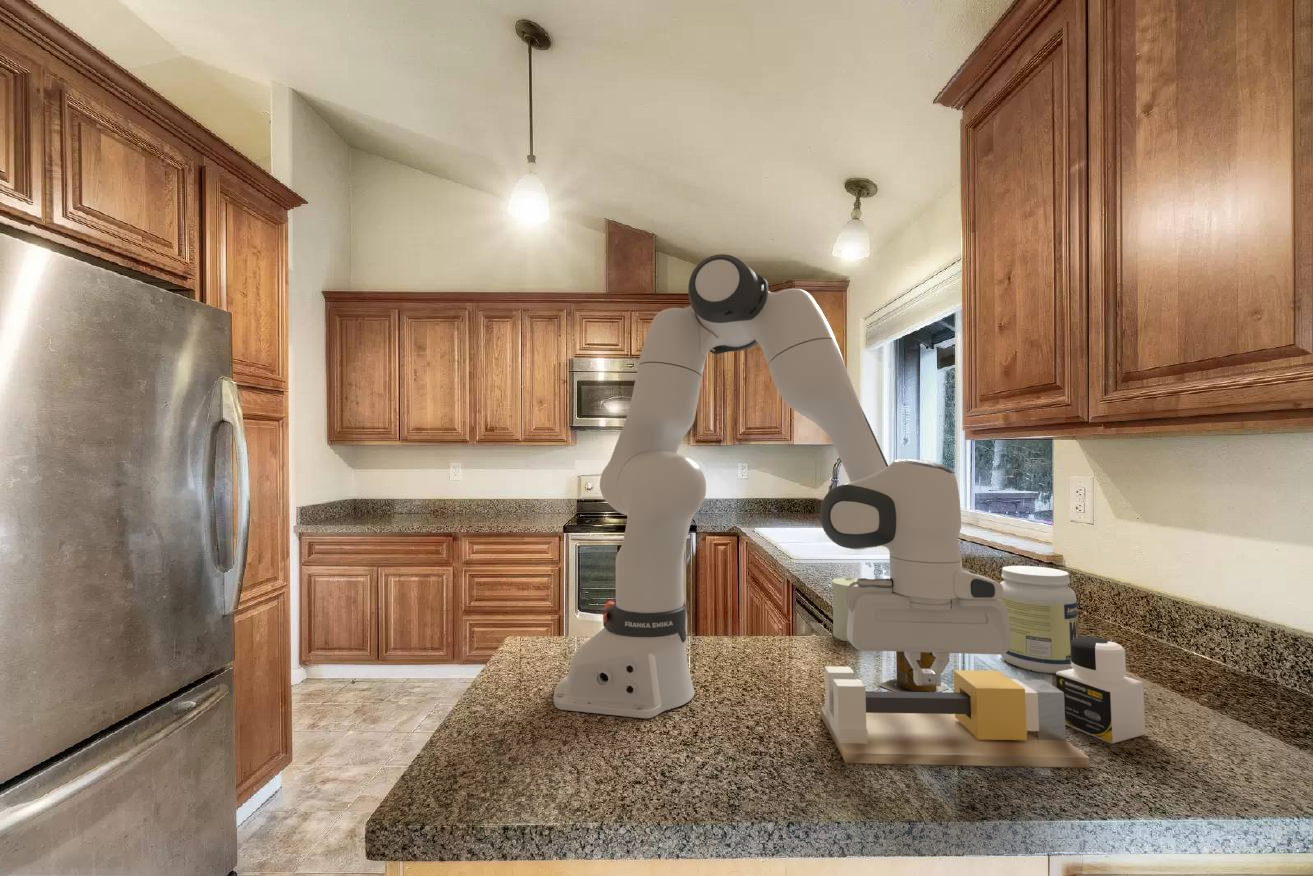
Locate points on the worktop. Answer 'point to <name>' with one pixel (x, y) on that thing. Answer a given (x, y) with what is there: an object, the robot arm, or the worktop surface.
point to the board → (949, 744)
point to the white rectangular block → (1030, 707)
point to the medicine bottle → (1101, 692)
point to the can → (841, 607)
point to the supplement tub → (1039, 617)
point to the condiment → (911, 675)
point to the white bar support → (845, 705)
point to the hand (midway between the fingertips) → (927, 684)
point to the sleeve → (992, 705)
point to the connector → (1048, 710)
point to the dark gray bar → (918, 702)
